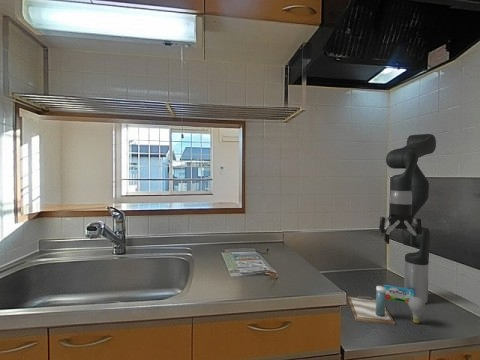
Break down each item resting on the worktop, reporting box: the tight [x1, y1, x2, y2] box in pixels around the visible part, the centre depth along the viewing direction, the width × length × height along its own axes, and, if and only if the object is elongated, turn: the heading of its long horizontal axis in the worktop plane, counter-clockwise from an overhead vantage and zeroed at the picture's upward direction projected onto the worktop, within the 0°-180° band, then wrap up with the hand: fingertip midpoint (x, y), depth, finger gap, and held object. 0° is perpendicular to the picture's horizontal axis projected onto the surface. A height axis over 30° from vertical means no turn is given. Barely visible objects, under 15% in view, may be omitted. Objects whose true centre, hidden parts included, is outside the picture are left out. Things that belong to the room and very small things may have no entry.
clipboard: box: [347, 295, 396, 326], centre depth 120 cm, size 20×14×2 cm
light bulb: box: [408, 297, 426, 324], centre depth 110 cm, size 6×6×10 cm
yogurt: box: [383, 284, 414, 305], centre depth 129 cm, size 12×2×6 cm, turn 61°
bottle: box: [375, 285, 386, 317], centre depth 114 cm, size 3×3×11 cm
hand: (399, 244), depth 111 cm, fingers open, 8 cm apart
